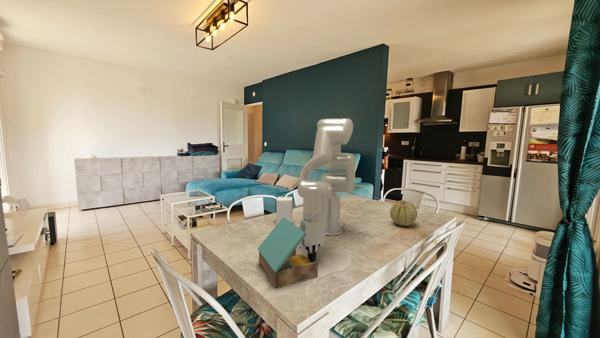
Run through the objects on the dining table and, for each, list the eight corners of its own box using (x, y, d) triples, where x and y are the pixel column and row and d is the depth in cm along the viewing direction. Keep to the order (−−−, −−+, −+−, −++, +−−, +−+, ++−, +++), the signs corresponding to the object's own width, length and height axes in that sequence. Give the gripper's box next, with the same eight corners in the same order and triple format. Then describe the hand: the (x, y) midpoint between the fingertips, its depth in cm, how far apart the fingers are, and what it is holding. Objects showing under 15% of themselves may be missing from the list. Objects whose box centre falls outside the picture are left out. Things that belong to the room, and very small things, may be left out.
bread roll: (312, 265, 97) (313, 255, 96) (297, 274, 90) (297, 264, 89) (297, 258, 102) (297, 249, 102) (282, 267, 95) (282, 257, 95)
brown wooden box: (295, 254, 105) (295, 242, 104) (317, 276, 88) (317, 262, 88) (259, 263, 97) (258, 250, 97) (276, 288, 81) (276, 273, 80)
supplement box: (291, 225, 140) (291, 200, 138) (276, 225, 140) (276, 200, 138) (292, 220, 149) (292, 196, 147) (277, 220, 149) (277, 196, 147)
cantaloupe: (411, 221, 149) (412, 197, 148) (420, 230, 135) (422, 203, 133) (386, 220, 151) (387, 196, 149) (393, 229, 136) (394, 202, 135)
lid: (285, 218, 101) (283, 216, 100) (306, 234, 84) (305, 232, 84) (258, 249, 97) (257, 248, 96) (276, 272, 80) (274, 271, 80)
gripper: (323, 211, 102) (322, 252, 104) (291, 216, 95) (290, 260, 97) (333, 216, 96) (332, 260, 98) (300, 221, 89) (299, 269, 91)
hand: (311, 260), depth 98 cm, fingers closed
